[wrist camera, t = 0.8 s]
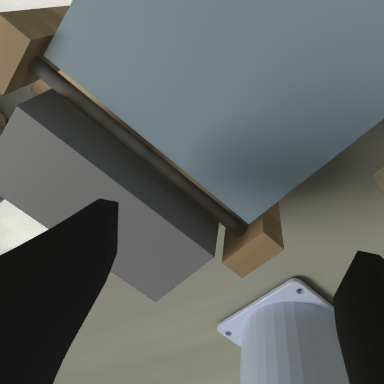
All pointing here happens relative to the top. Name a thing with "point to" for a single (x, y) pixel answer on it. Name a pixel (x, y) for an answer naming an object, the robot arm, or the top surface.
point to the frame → (126, 133)
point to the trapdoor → (194, 116)
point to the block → (379, 178)
